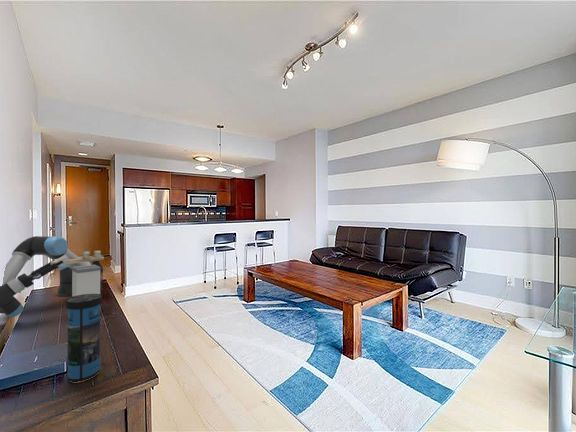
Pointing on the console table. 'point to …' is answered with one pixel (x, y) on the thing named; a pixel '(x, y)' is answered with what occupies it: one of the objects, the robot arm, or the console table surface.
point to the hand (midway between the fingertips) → (67, 257)
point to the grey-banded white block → (85, 280)
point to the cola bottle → (100, 275)
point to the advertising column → (83, 336)
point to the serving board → (84, 258)
